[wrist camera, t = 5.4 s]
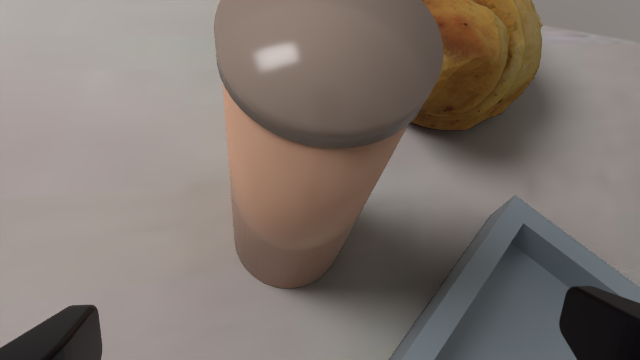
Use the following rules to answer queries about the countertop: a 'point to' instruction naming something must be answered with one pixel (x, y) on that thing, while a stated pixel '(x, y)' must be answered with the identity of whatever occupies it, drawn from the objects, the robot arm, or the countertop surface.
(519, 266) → the tray
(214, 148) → the countertop surface
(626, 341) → the robot arm
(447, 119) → the bread roll
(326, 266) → the jar
